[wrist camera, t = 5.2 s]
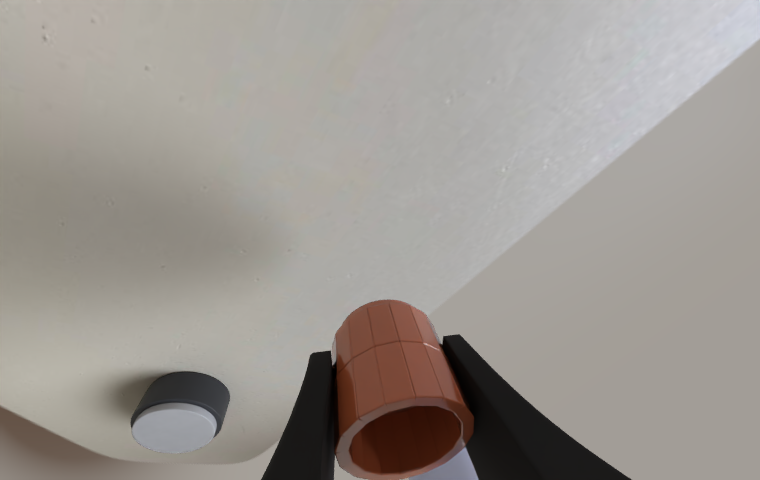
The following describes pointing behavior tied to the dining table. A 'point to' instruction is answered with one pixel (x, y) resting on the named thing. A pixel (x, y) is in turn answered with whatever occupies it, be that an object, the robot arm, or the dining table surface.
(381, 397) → the cup
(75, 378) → the dining table surface
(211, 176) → the dining table surface
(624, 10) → the dining table surface
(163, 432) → the push button
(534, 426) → the robot arm
